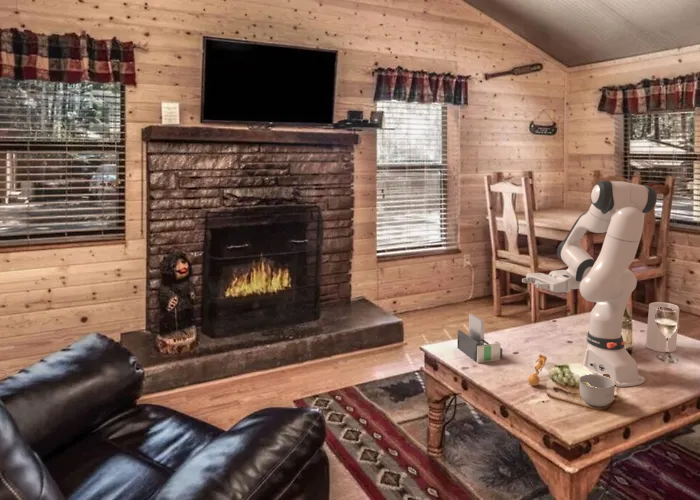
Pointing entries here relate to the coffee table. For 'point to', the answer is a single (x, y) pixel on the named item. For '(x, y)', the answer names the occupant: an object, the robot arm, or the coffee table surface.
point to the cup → (654, 336)
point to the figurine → (534, 378)
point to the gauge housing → (478, 349)
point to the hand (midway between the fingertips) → (529, 283)
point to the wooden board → (476, 329)
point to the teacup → (597, 389)
